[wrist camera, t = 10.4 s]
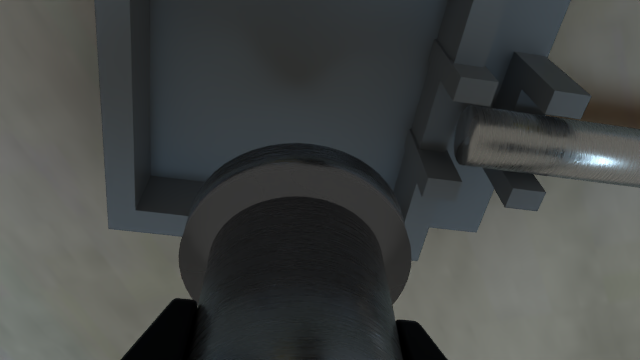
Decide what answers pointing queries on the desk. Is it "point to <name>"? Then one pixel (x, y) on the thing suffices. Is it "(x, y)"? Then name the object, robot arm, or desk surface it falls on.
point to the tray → (320, 96)
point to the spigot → (295, 258)
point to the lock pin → (547, 146)
